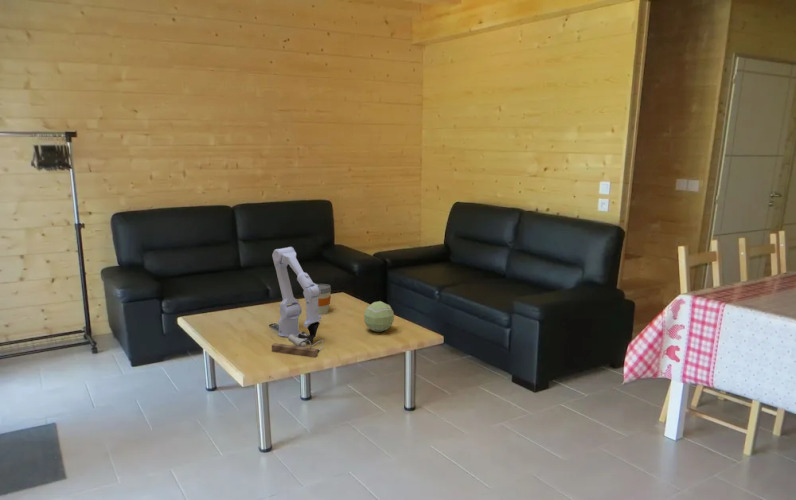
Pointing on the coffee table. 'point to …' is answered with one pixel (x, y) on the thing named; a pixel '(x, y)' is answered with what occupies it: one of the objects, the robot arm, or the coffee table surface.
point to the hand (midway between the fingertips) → (313, 337)
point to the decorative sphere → (378, 316)
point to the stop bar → (294, 350)
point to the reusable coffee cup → (324, 298)
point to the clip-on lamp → (302, 340)
